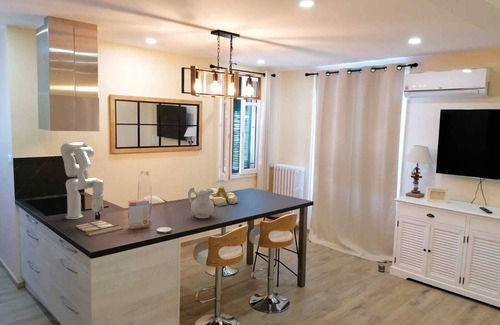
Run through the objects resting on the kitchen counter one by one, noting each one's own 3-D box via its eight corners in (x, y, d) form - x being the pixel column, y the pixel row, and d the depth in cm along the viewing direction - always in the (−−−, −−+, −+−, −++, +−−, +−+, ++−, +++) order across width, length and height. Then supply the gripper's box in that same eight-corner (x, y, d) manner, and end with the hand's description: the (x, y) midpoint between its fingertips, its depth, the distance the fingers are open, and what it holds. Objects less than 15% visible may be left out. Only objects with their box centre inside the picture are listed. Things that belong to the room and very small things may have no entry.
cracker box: (147, 225, 281) (147, 198, 279) (149, 227, 276) (149, 200, 273) (128, 227, 274) (128, 200, 272) (130, 229, 269) (130, 201, 266)
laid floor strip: (85, 234, 255) (85, 231, 255) (117, 227, 274) (117, 224, 274) (90, 236, 251) (90, 234, 251) (122, 229, 269) (122, 226, 269)
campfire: (216, 207, 344) (216, 190, 342) (195, 200, 369) (196, 184, 367) (243, 203, 368) (244, 186, 366) (223, 196, 392) (223, 181, 390)
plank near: (76, 227, 269) (76, 225, 269) (88, 224, 276) (88, 223, 276) (87, 233, 258) (87, 231, 257) (100, 230, 264) (100, 228, 264)
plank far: (90, 224, 277) (90, 222, 277) (102, 222, 284) (102, 220, 284) (102, 230, 266) (102, 228, 266) (114, 227, 273) (114, 225, 273)
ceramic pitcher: (191, 221, 299) (192, 192, 294) (185, 213, 316) (186, 185, 312) (216, 219, 308) (218, 191, 304) (208, 212, 326) (210, 185, 321)
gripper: (88, 194, 278) (88, 218, 281) (98, 198, 269) (97, 223, 271) (97, 193, 284) (97, 216, 287) (107, 197, 275) (107, 221, 277)
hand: (97, 219), depth 279 cm, fingers closed
